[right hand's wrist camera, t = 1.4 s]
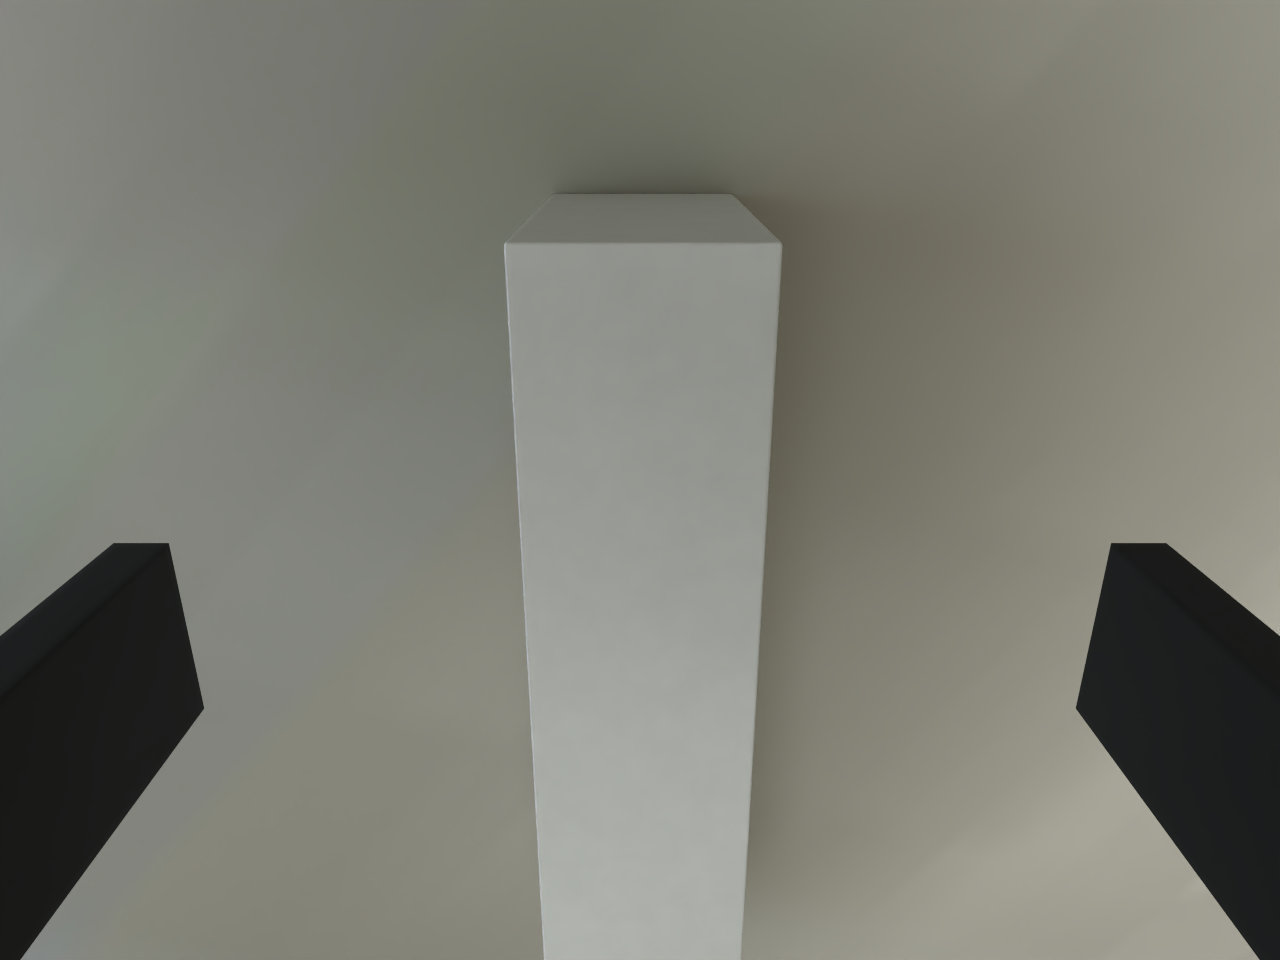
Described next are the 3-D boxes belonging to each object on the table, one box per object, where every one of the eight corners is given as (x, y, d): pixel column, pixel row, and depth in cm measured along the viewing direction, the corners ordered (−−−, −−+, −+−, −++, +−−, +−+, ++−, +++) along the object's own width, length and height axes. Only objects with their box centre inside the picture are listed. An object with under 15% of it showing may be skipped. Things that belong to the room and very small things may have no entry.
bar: (552, 193, 25) (503, 242, 16) (732, 193, 25) (783, 242, 16) (576, 870, 34) (553, 1137, 25) (708, 870, 34) (731, 1137, 25)
